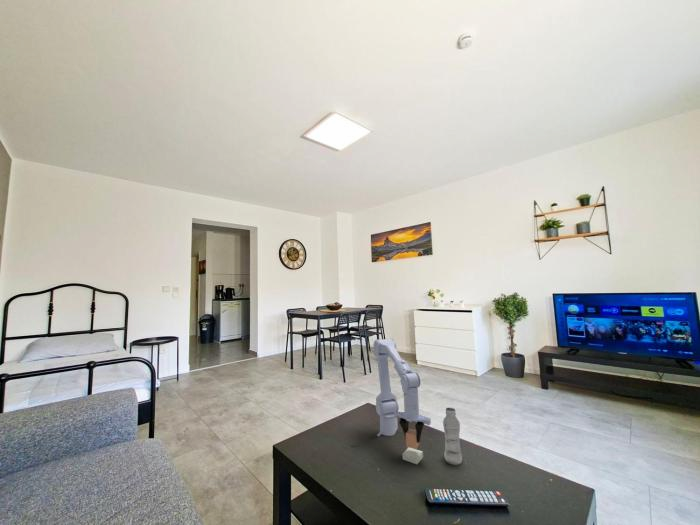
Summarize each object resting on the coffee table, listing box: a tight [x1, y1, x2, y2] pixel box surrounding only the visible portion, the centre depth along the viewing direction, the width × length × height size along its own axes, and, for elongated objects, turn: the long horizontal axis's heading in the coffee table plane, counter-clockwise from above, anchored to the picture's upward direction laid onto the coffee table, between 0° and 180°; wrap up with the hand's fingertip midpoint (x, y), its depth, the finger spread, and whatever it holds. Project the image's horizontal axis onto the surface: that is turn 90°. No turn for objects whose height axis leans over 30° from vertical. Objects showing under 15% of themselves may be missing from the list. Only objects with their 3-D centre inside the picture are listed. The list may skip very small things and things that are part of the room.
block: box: [405, 428, 420, 450], centre depth 110 cm, size 4×4×5 cm
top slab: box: [402, 447, 424, 465], centre depth 110 cm, size 6×6×2 cm
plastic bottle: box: [442, 407, 463, 466], centre depth 109 cm, size 6×7×20 cm
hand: (412, 440), depth 110 cm, fingers closed on block, 4 cm apart
